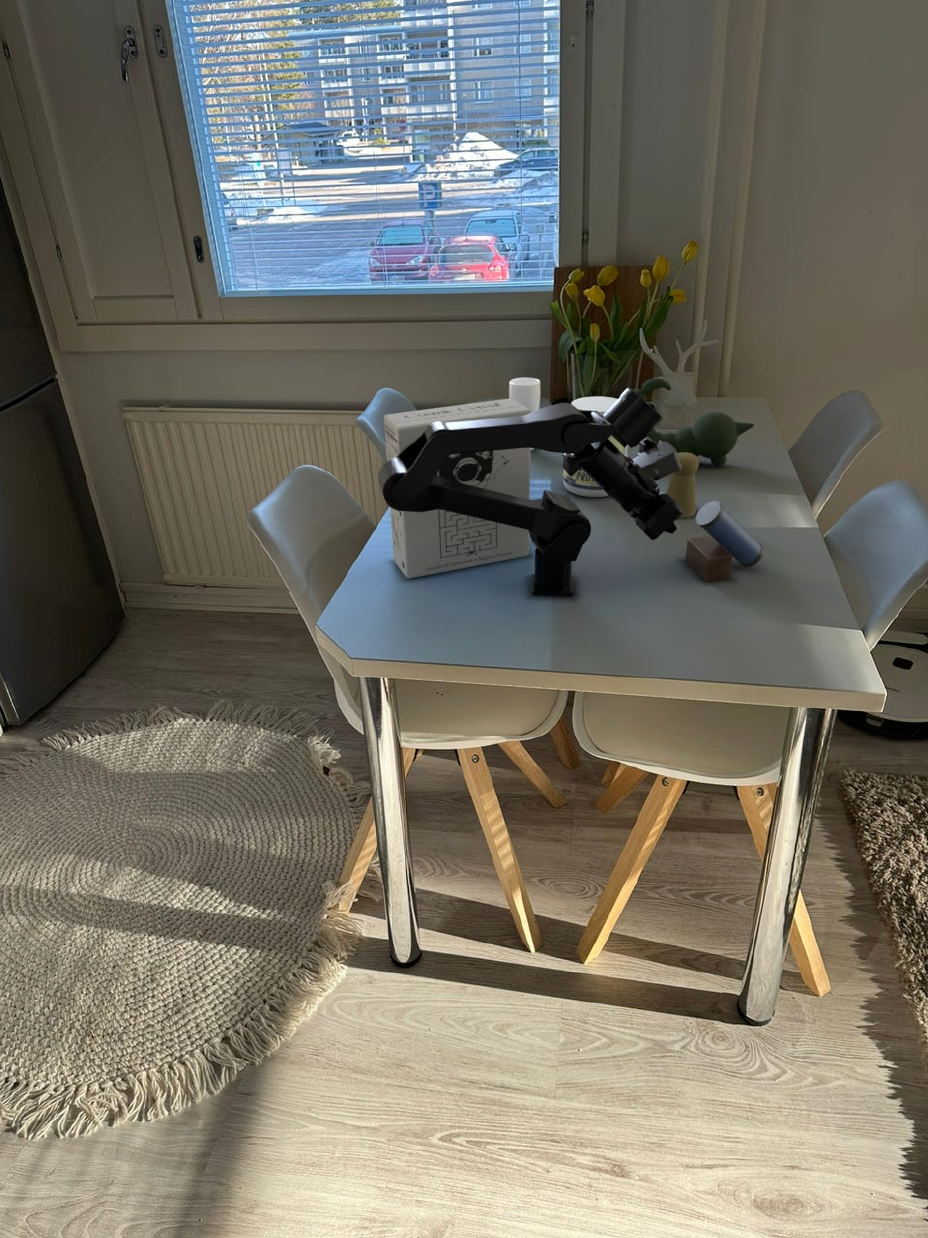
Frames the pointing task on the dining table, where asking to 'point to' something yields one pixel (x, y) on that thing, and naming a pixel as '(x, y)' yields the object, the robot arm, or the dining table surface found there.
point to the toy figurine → (699, 431)
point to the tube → (730, 534)
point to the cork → (684, 484)
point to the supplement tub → (580, 480)
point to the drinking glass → (526, 393)
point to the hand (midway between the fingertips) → (674, 530)
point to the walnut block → (708, 559)
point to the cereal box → (452, 536)
